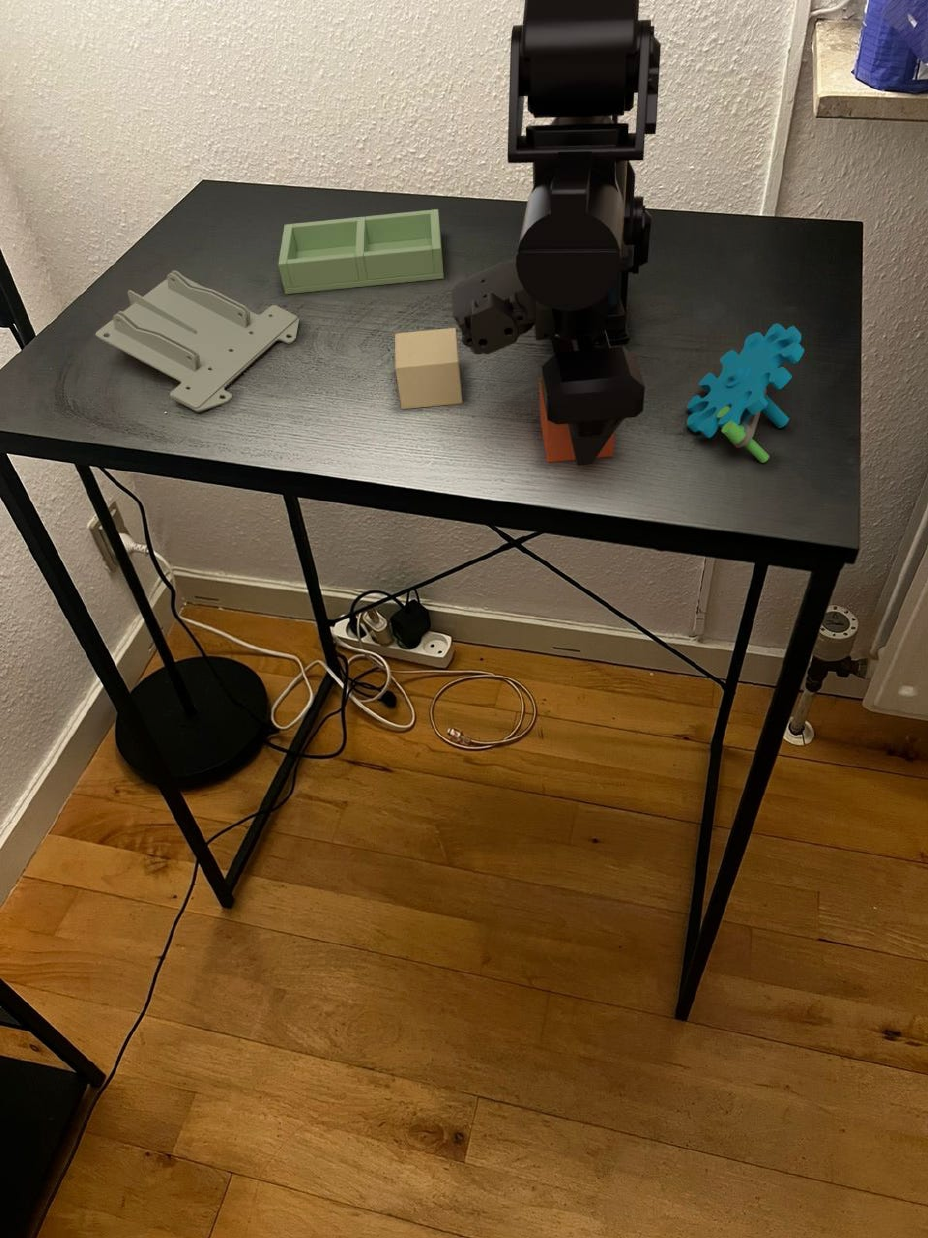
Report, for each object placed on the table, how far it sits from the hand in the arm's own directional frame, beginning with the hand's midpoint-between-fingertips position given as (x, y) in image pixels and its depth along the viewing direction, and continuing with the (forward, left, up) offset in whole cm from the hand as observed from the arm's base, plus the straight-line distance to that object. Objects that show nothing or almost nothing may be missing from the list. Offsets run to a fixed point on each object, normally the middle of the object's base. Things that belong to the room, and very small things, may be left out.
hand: (576, 425), depth 72 cm
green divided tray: (+17, -31, -1) cm, 35 cm away
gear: (-12, 0, -1) cm, 12 cm away
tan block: (+11, -9, -1) cm, 14 cm away
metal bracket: (+32, -18, -1) cm, 36 cm away
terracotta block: (0, 0, -1) cm, 1 cm away
